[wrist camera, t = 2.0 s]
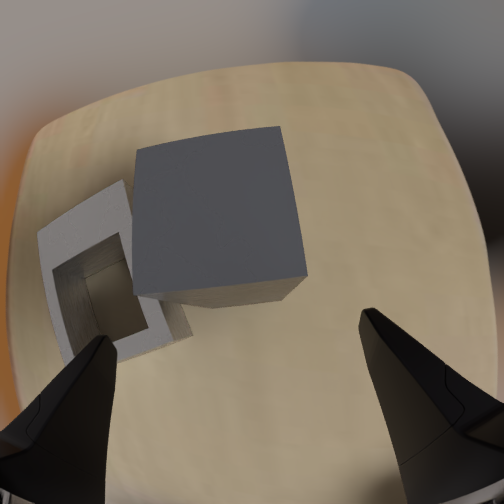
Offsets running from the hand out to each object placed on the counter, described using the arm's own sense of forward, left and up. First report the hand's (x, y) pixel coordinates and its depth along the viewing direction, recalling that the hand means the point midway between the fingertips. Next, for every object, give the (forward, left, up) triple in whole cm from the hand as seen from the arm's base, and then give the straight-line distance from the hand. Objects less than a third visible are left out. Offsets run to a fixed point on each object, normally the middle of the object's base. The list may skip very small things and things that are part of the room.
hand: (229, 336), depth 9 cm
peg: (+3, +3, -11) cm, 11 cm away
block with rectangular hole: (-4, +10, -11) cm, 15 cm away
